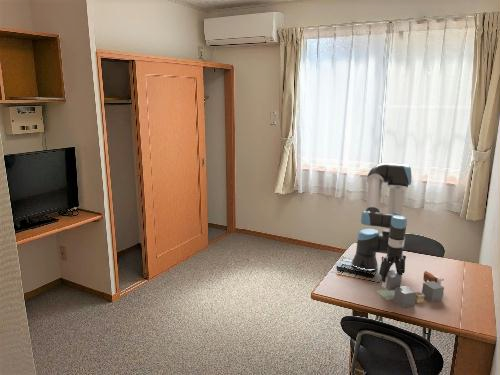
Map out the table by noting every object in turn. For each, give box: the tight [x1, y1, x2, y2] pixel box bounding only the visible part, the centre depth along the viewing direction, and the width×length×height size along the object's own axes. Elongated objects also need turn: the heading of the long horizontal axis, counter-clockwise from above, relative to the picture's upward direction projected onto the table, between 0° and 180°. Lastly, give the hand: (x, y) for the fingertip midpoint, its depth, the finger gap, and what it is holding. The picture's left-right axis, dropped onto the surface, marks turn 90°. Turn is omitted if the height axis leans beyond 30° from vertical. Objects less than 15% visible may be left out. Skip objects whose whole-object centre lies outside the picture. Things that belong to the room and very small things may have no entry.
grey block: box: [393, 285, 417, 309], centre depth 195 cm, size 7×7×8 cm
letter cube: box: [415, 291, 425, 304], centre depth 199 cm, size 4×4×4 cm
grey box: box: [380, 269, 403, 291], centre depth 202 cm, size 7×7×8 cm
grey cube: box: [421, 281, 445, 303], centre depth 201 cm, size 7×7×8 cm
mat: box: [376, 289, 395, 301], centre depth 204 cm, size 9×9×1 cm
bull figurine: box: [423, 270, 444, 286], centre depth 212 cm, size 4×13×8 cm, turn 15°
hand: (390, 286), depth 202 cm, fingers closed on grey box, 7 cm apart
